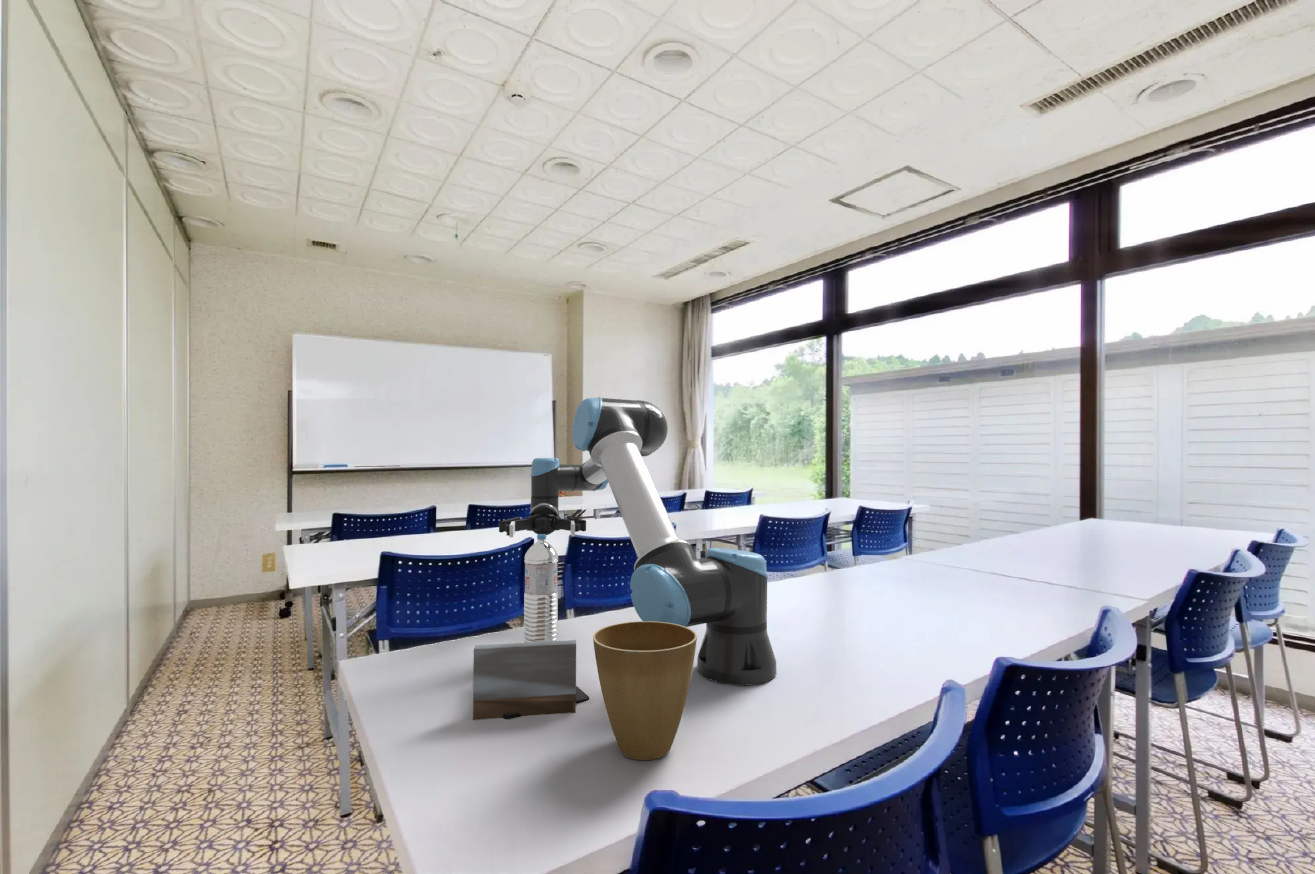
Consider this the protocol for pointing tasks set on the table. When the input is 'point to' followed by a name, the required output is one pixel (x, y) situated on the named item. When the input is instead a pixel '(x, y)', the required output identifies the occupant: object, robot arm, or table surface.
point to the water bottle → (541, 592)
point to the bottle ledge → (524, 679)
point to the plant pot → (644, 683)
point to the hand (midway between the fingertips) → (542, 530)
